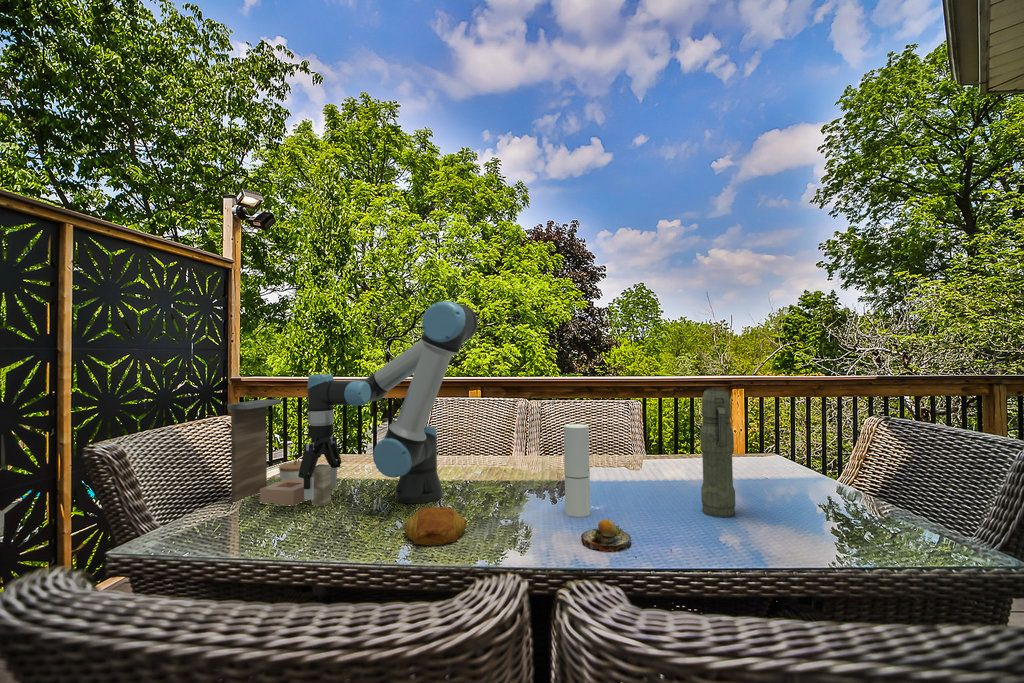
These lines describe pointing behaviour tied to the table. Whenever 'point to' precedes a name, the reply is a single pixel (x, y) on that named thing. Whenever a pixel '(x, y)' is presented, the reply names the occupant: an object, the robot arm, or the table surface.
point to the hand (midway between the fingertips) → (321, 493)
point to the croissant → (435, 526)
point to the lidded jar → (290, 471)
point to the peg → (322, 485)
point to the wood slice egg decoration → (606, 537)
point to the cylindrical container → (577, 470)
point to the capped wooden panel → (248, 447)
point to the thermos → (717, 454)
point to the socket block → (283, 492)
